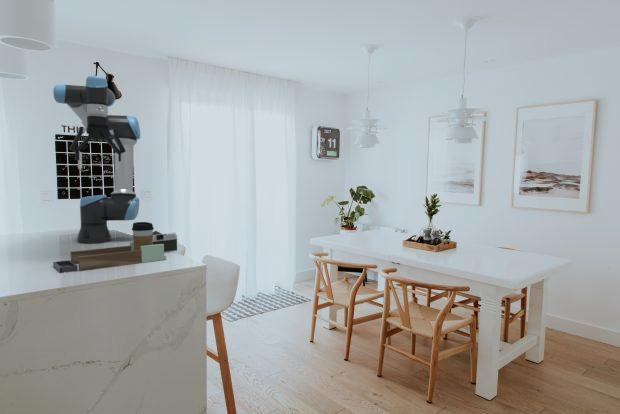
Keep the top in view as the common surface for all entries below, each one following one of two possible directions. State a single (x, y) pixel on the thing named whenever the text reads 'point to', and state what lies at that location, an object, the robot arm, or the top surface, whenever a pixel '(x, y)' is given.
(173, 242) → the camera
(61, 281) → the top surface
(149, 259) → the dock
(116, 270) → the top surface
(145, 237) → the coffee cup
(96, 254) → the channel
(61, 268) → the tray
